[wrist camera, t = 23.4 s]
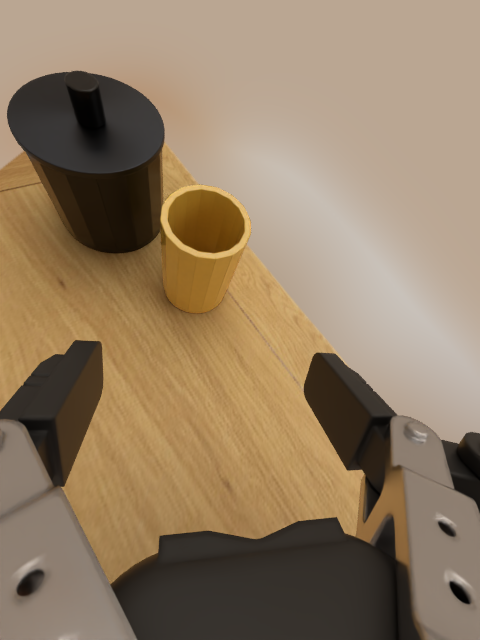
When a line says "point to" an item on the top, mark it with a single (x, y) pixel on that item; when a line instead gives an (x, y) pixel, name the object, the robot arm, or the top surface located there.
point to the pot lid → (86, 125)
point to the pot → (108, 206)
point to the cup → (201, 245)
